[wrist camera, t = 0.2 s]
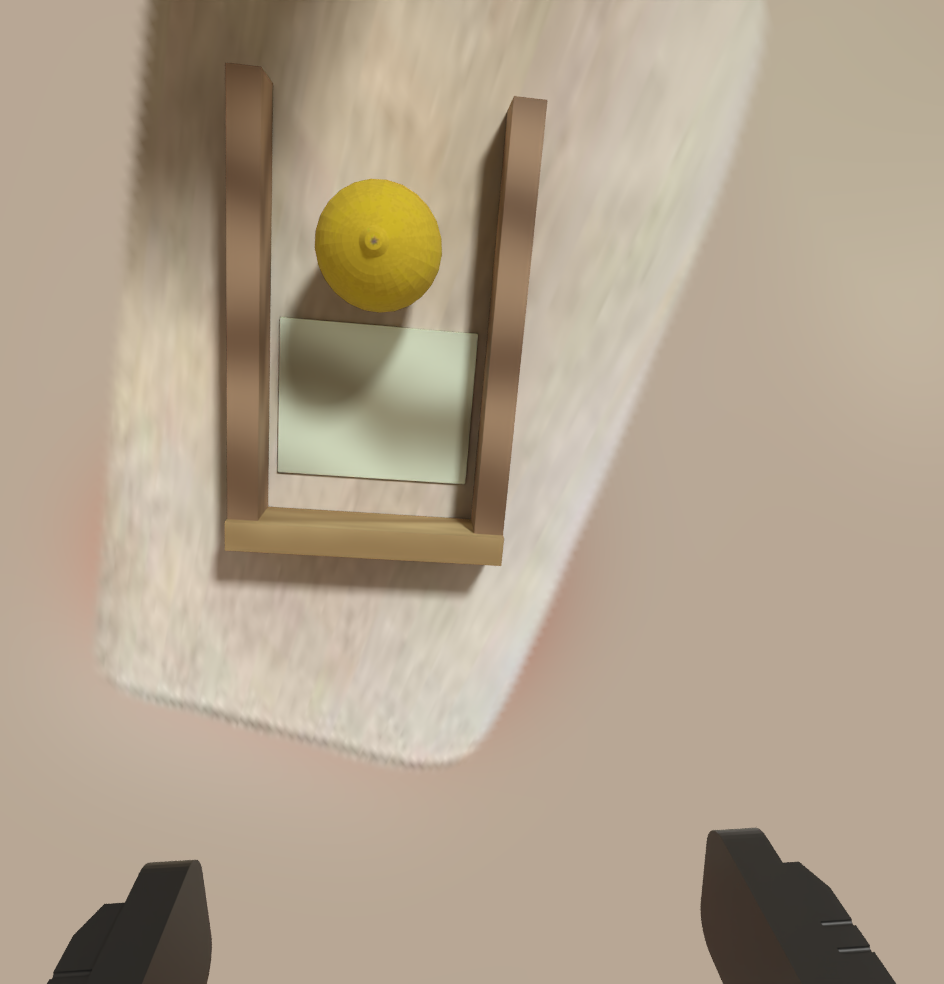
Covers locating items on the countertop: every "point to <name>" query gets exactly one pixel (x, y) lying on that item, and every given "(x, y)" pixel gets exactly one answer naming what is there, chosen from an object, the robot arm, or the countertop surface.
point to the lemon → (378, 245)
